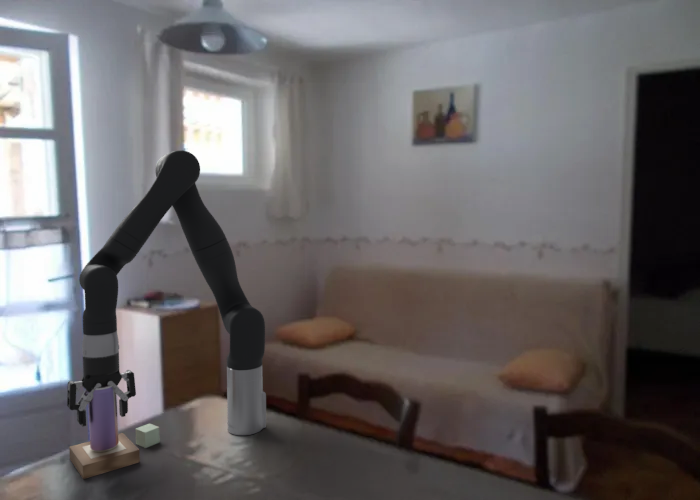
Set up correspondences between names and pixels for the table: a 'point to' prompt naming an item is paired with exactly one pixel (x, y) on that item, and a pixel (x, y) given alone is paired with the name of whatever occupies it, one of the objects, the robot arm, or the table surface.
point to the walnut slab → (103, 457)
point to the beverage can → (103, 419)
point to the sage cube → (147, 435)
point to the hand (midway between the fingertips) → (103, 420)
